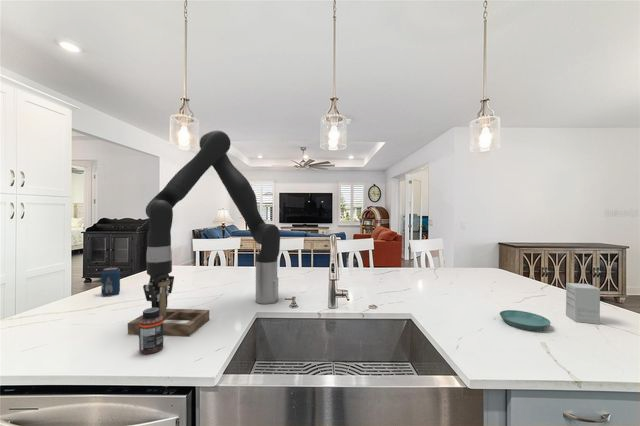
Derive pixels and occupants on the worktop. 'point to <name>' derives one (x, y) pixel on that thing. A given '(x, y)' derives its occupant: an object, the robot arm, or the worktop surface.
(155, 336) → the supplement bottle
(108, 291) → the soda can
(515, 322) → the saucer
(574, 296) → the supplement box
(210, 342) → the worktop surface
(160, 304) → the handle
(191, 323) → the brown wooden frame
